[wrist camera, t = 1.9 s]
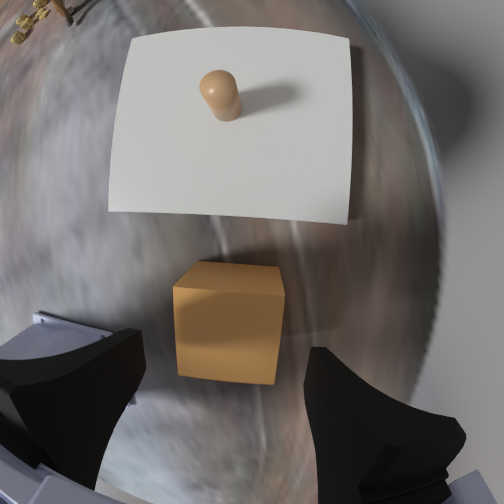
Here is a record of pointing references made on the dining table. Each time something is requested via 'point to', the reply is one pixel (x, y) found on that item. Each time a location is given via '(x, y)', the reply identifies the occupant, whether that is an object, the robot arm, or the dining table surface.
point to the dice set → (29, 21)
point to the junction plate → (235, 125)
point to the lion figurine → (64, 10)
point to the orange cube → (229, 322)
